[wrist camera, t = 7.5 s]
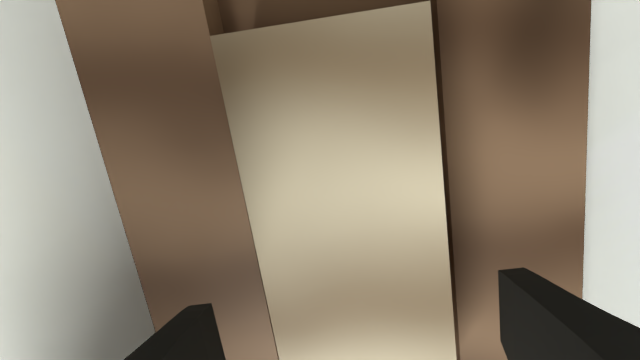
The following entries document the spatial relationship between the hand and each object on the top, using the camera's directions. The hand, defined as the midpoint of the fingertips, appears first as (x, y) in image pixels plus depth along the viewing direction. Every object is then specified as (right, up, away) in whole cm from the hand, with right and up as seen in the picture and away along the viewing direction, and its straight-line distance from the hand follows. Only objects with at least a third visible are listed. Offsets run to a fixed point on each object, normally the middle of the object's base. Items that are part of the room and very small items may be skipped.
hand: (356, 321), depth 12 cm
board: (+1, +1, +8) cm, 8 cm away
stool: (0, +3, +7) cm, 7 cm away
